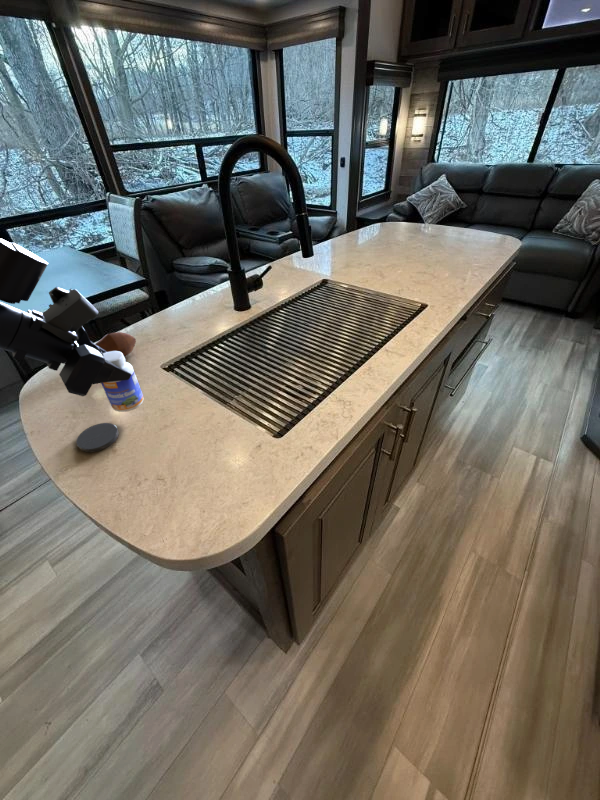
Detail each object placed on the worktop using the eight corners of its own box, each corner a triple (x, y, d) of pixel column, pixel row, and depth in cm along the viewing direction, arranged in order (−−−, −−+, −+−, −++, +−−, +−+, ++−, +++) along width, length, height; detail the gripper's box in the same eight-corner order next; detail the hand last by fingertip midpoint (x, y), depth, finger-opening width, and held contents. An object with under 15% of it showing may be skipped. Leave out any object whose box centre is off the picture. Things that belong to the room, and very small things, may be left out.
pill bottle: (112, 416, 57) (89, 368, 51) (112, 398, 61) (91, 352, 55) (145, 408, 59) (127, 360, 53) (143, 391, 63) (126, 346, 57)
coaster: (98, 456, 59) (97, 453, 58) (69, 446, 61) (67, 443, 60) (127, 430, 64) (125, 427, 64) (98, 422, 66) (97, 419, 65)
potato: (89, 362, 84) (78, 339, 80) (131, 344, 91) (123, 323, 87) (100, 370, 81) (90, 347, 77) (143, 351, 88) (135, 329, 84)
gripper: (55, 296, 38) (170, 350, 50) (29, 262, 49) (129, 312, 62) (9, 378, 39) (134, 411, 51) (-6, 326, 50) (100, 363, 62)
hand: (124, 369), depth 57 cm, fingers closed on pill bottle, 5 cm apart
